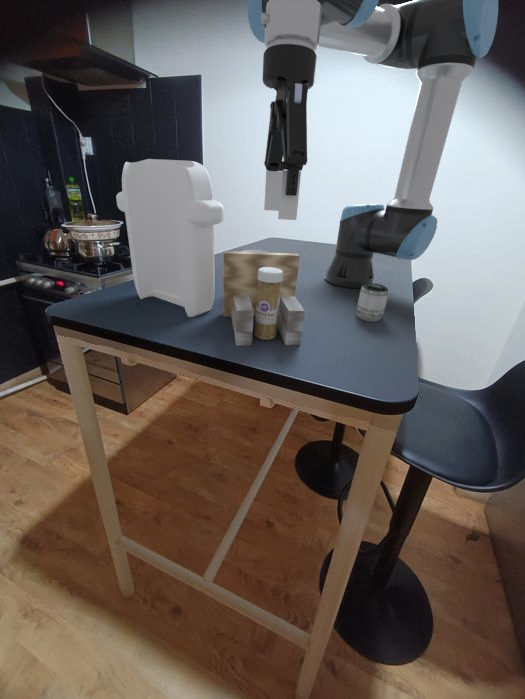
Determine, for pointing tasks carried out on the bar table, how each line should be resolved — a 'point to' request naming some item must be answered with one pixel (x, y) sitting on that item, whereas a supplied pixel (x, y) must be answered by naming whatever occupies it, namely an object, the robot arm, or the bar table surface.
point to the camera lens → (372, 302)
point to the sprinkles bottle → (267, 302)
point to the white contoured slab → (171, 231)
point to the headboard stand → (243, 293)
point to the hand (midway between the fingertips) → (278, 214)
